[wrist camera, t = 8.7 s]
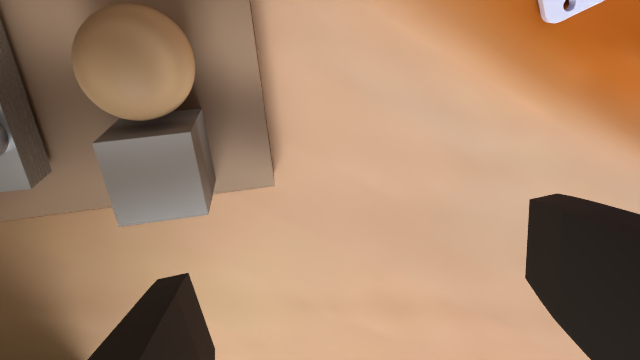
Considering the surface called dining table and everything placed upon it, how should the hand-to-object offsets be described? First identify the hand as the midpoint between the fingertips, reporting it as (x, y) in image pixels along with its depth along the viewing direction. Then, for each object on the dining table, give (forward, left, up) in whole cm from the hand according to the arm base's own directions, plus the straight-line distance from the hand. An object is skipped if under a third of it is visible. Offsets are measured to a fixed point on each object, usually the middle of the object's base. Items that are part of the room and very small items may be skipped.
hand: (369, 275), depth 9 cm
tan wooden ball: (+4, -6, -9) cm, 11 cm away
